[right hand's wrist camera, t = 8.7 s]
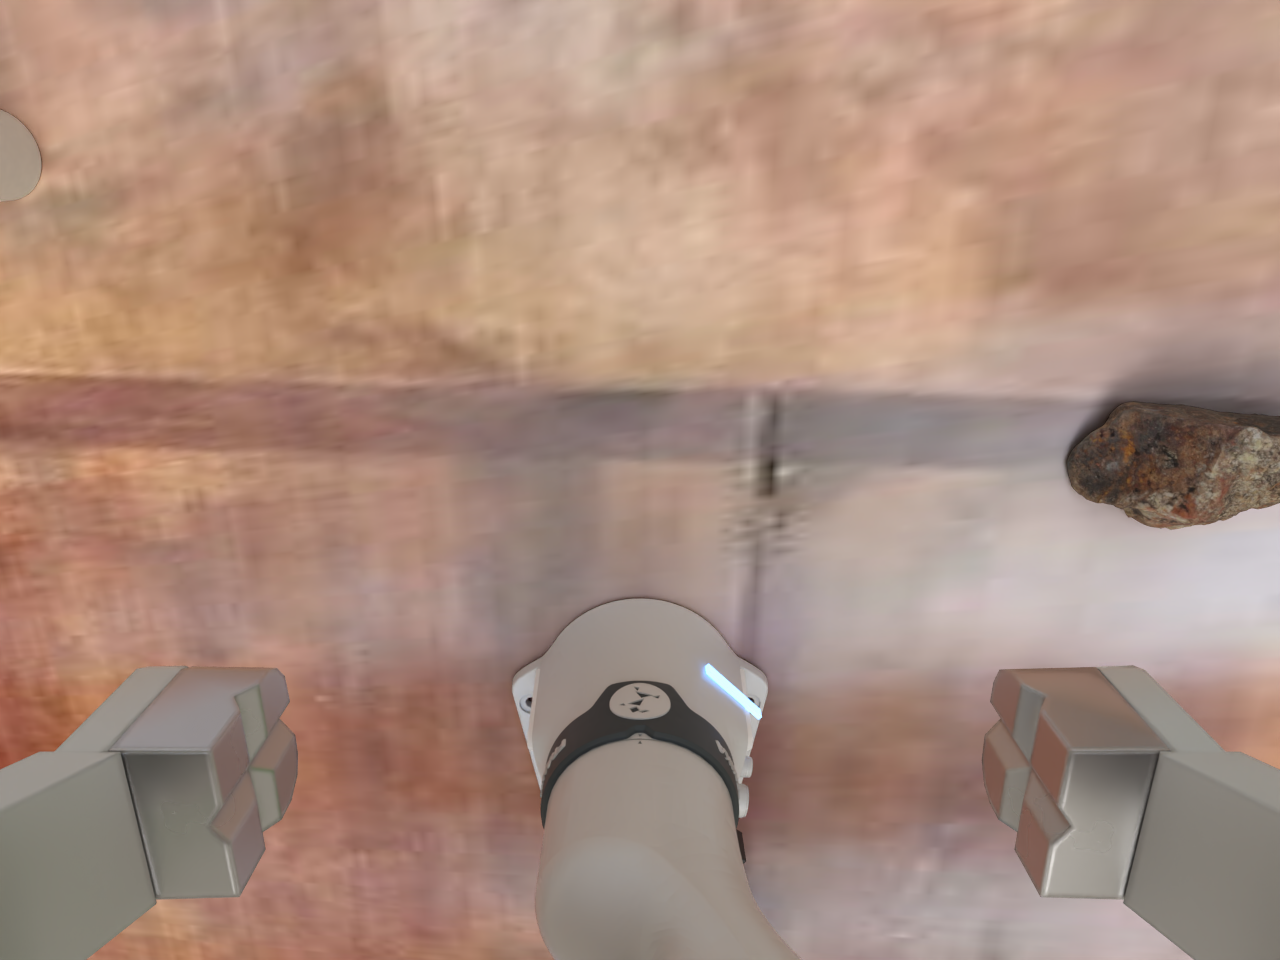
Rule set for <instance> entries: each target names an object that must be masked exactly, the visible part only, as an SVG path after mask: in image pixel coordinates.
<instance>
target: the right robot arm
mask: <svg viewBox="0 0 1280 960" xmlns="http://www.w3.org/2000/svg"><path fill="white" fill-rule="evenodd" d="M512 693H513V697H514V700H515V704H516V707H517V711H518V714H519V718H520V721H521V725H522V728H523V732H524V735H525V739H526V742H527V746H528V749H529V752H530V756H531V759H532V763H533V766H534V770H535V773H536V777H537V780H538V784H539V787H540V791H541V793H540V797H542V798H541V818H542V825H543V828H544V835H543V842H542V849H541V856H540V863H539V870H538V878H537V885H536V892H535V912H536V919H537V924H538V927H539V930H540V933H541V936H542V938H543V941H544V943H545V945H546V947H547V948H548V950H549V952H550V953H551V955H552V957H553V958H554V960H802V959H801V958H800V957H799V956H798V955H797V954H796V953H795V952H794V951H793V950H792V949H791V948H790V947H789V946H788V944H787V943H786V942H785V941H784V940H783V939H782V938H781V937H780V936H779V935H778V933H777V932H776V931H775V930H774V928H773V927H772V926H771V924H770V923H769V922H768V921H767V919H766V918H765V916H764V915H763V913H762V912H761V910H760V909H759V907H758V905H757V903H756V901H755V899H754V897H753V895H752V893H751V890H750V887H749V884H748V880H747V877H746V873H745V869H744V865H743V864H744V863H745V862H746V858H745V851H744V845H743V838H742V833H741V832H740V831H738V830H737V829H736V828H737V825H738V819H739V818H743V817H745V816H746V814H747V810H748V804H749V789H748V786H746V785H745V784H742V780H743V777H751V774H752V769H753V760H752V758H751V757H749V756H750V753H751V749H752V746H753V742H754V739H755V735H756V732H757V728H758V725H759V721H760V718H761V717H762V715H761V714H762V711H763V708H764V704H765V701H766V697H767V694H768V681H767V678H766V676H765V674H764V673H763V672H762V671H760V670H759V669H758V668H756V667H755V666H753V665H752V664H750V663H748V662H747V661H745V660H743V659H741V658H739V657H738V656H737V655H736V654H735V653H734V652H733V651H732V650H731V648H730V647H729V646H728V644H727V643H726V641H725V640H724V639H723V637H722V636H721V635H720V633H719V632H718V631H717V630H716V629H715V628H714V627H713V626H712V625H711V624H710V623H709V622H707V621H706V620H705V619H704V618H702V617H701V616H699V615H698V614H696V613H694V612H692V611H691V610H689V609H686V608H684V607H682V606H679V605H677V604H673V603H670V602H666V601H662V600H656V599H643V598H637V599H624V600H618V601H614V602H610V603H607V604H603V605H601V606H598V607H596V608H594V609H591V610H589V611H588V612H586V613H584V614H582V615H581V616H579V617H578V618H577V619H575V620H574V621H573V622H571V623H570V624H569V625H568V626H567V627H566V628H565V629H564V630H563V631H562V632H561V633H560V635H559V636H558V637H557V639H556V640H555V641H554V643H553V644H552V646H551V647H550V648H549V650H548V651H547V652H546V653H545V654H544V655H543V656H542V657H541V658H539V659H537V660H535V661H534V662H532V663H530V664H528V665H527V666H525V667H524V668H522V669H521V670H520V671H518V672H517V673H516V674H515V676H514V678H513V681H512ZM530 697H532V702H531V701H529V700H528V698H530ZM748 697H750V698H752V700H751V701H750V700H749V699H748ZM289 702H290V700H289V695H288V690H287V685H286V680H285V676H284V675H283V674H282V673H281V672H280V671H279V670H278V669H277V668H246V667H196V666H192V667H187V666H148V667H144V668H139V669H136V670H135V671H134V672H133V673H132V674H131V675H130V676H129V677H128V678H127V679H126V680H125V681H124V682H123V683H122V684H121V685H120V686H119V687H118V688H117V689H116V690H115V691H114V692H113V693H112V694H111V695H110V696H109V697H108V698H107V699H106V700H105V701H104V702H103V703H102V704H101V705H100V706H99V707H98V708H97V709H96V710H95V711H94V712H93V713H92V714H91V715H90V716H89V717H88V718H87V719H86V720H85V721H84V722H83V723H82V724H81V725H80V726H79V728H78V729H77V730H76V731H75V732H74V733H73V734H72V735H71V736H70V737H69V738H68V739H67V740H66V741H65V742H64V743H63V744H62V745H61V746H60V747H59V748H58V749H57V750H56V751H55V752H38V753H36V754H34V755H32V756H29V757H27V758H25V759H23V760H21V761H18V762H16V763H14V764H12V765H9V766H7V767H5V768H3V769H1V770H0V960H86V959H88V958H89V957H90V956H91V955H93V954H94V953H95V952H96V951H98V950H99V949H100V948H101V947H103V946H104V945H105V944H106V943H108V942H109V941H110V940H111V939H113V938H114V937H115V936H116V935H118V934H119V933H120V932H121V931H123V930H124V929H125V928H127V927H128V926H129V925H130V924H132V923H133V922H134V921H135V920H137V919H138V918H139V917H140V916H142V915H143V914H144V913H145V912H147V911H148V910H149V909H150V908H152V907H153V906H154V905H155V904H156V899H188V898H222V897H240V895H241V893H242V891H243V890H244V888H245V886H246V884H247V882H248V880H249V879H250V877H251V875H252V873H253V871H254V869H255V868H256V866H257V864H258V862H259V860H260V859H261V857H262V855H263V853H264V851H265V844H264V838H263V832H264V831H265V830H267V829H268V828H270V827H271V826H273V825H274V824H276V823H277V822H279V821H280V820H282V818H283V816H284V814H285V812H286V810H287V808H288V806H289V804H290V802H291V800H292V796H293V791H294V787H295V783H296V779H297V772H298V751H297V744H296V737H295V734H294V733H293V732H292V731H291V730H290V729H289V728H288V727H287V726H286V725H285V724H284V723H283V722H282V721H281V720H280V719H279V718H280V716H281V715H282V713H283V712H284V710H285V708H286V707H287V705H288V704H289ZM990 702H991V704H992V705H993V707H994V708H995V710H996V712H997V713H998V715H999V716H1000V718H1001V719H1000V720H999V721H998V722H997V723H996V724H995V725H994V726H993V727H992V728H991V729H990V730H989V731H988V732H987V733H986V734H985V738H984V746H983V754H982V767H983V778H984V786H985V789H986V792H987V795H988V799H989V802H990V804H991V806H992V808H993V810H994V812H995V814H996V816H997V818H998V820H1000V821H1001V822H1003V823H1004V824H1006V825H1007V826H1009V827H1010V828H1012V829H1013V830H1015V831H1016V832H1017V838H1016V844H1015V851H1016V853H1017V855H1018V857H1019V858H1020V860H1021V862H1022V864H1023V866H1024V868H1025V869H1026V871H1027V873H1028V875H1029V877H1030V878H1031V880H1032V882H1033V884H1034V886H1035V888H1036V889H1037V891H1038V893H1039V895H1040V897H1055V898H1091V899H1124V902H1123V903H1124V904H1125V905H1126V906H1127V907H1129V908H1130V909H1131V910H1132V911H1134V912H1135V913H1136V914H1137V915H1139V916H1140V917H1141V918H1143V919H1144V920H1145V921H1146V922H1148V923H1149V924H1150V925H1151V926H1153V927H1154V928H1155V929H1156V930H1158V931H1159V932H1160V933H1161V934H1163V935H1164V936H1165V937H1166V938H1168V939H1169V940H1170V941H1171V942H1173V943H1174V944H1175V945H1176V946H1178V947H1179V948H1180V949H1181V950H1183V951H1184V952H1185V953H1186V954H1188V955H1189V956H1190V957H1192V958H1193V959H1194V960H1280V770H1279V769H1277V768H1275V767H1273V766H1270V765H1268V764H1266V763H1264V762H1262V761H1259V760H1257V759H1255V758H1253V757H1251V756H1248V755H1246V754H1244V753H1242V752H1225V751H1224V750H1223V749H1222V748H1221V747H1220V746H1219V745H1218V744H1217V743H1216V742H1215V740H1214V739H1213V738H1212V737H1211V736H1210V735H1209V734H1208V733H1207V732H1206V731H1205V730H1204V729H1203V728H1202V727H1201V726H1200V725H1199V724H1198V723H1197V722H1196V721H1195V720H1194V719H1193V718H1192V717H1191V716H1190V715H1189V714H1188V713H1187V712H1186V711H1185V710H1184V709H1183V708H1182V707H1181V706H1180V705H1179V704H1178V703H1177V702H1176V701H1175V700H1174V699H1173V698H1172V697H1171V696H1170V695H1169V694H1168V693H1167V692H1166V691H1165V690H1164V689H1163V688H1162V687H1161V686H1160V685H1159V684H1158V683H1157V682H1156V681H1155V680H1154V679H1153V678H1152V677H1151V676H1150V675H1149V674H1148V673H1147V672H1146V671H1145V670H1143V669H1141V668H1138V667H1135V666H1133V665H1131V666H1105V667H1081V668H1042V669H1005V670H999V672H998V674H997V676H996V678H995V680H994V683H993V688H992V694H991V700H990Z"/></svg>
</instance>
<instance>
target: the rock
mask: <svg viewBox="0 0 1280 960" xmlns="http://www.w3.org/2000/svg"><path fill="white" fill-rule="evenodd" d="M1067 468H1068V475H1069V478H1070V480H1071V486H1072V487H1073V488H1074V489H1075V490H1076V491H1077V492H1078V493H1079V494H1080V495H1082V496H1083V497H1085V498H1086V499H1087V500H1090V501H1093V502H1096V503H1105V504H1111V505H1114V506H1115V507H1118V508H1121V509H1123V510H1124V511H1125V513H1126V515H1127V516H1128V517H1132V518H1134V519H1135V520H1137V521H1139V522H1140V523H1142V524H1144V525H1147V526H1150V527H1157V528H1164V527H1165V528H1168V529H1179V528H1183V527H1189V526H1192V525H1206V524H1211V523H1214V522H1217V521H1218V520H1222V521H1224V520H1227V519H1229V518H1231V517H1233V516H1235V515H1237V514H1238V513H1239V512H1242V511H1246V510H1248V509H1251V508H1255V509H1261V508H1266V507H1270V506H1273V505H1275V504H1278V503H1280V416H1267V415H1257V414H1250V415H1249V414H1238V413H1230V412H1217V411H1212V410H1208V409H1203V408H1197V407H1191V406H1185V405H1170V404H1154V403H1144V402H1134V401H1133V402H1128V403H1123V404H1121V405H1120V406H1118V407H1117V408H1116V409H1115V410H1113V411H1112V412H1111V414H1110V415H1109V418H1108V420H1107V421H1106V423H1105V424H1104V425H1103V426H1102V427H1100V428H1098V429H1096V430H1095V431H1093V432H1091V433H1090V434H1089V435H1088V436H1086V437H1085V438H1084V439H1083V440H1082V441H1081V442H1080V443H1079V444H1077V445H1076V446H1075V448H1074V449H1073V450H1072V451H1071V453H1070V456H1069V458H1068V460H1067Z"/></svg>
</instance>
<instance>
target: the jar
mask: <svg viewBox="0 0 1280 960" xmlns="http://www.w3.org/2000/svg"><path fill="white" fill-rule="evenodd" d="M41 167H42V164H41V155H40V151H39V148H38V146H37V143H36V141H35V139H34V137H33V136H32V134H31V133H30V131H29V130H28V129H27V128H26V127H25V126H24V125H23V124H22V123H21V122H20V121H19V120H18V119H17V118H15V117H14V116H12V115H11V114H9V113H7V112H5V111H3V110H0V202H1V201H13V200H17V199H20V198H23V197H25V196H26V195H28V194H29V193H30V192H31V191H32V190H33V189H34V188H35V186H36V185H37V183H38V181H39V178H40V174H41Z"/></svg>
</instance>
